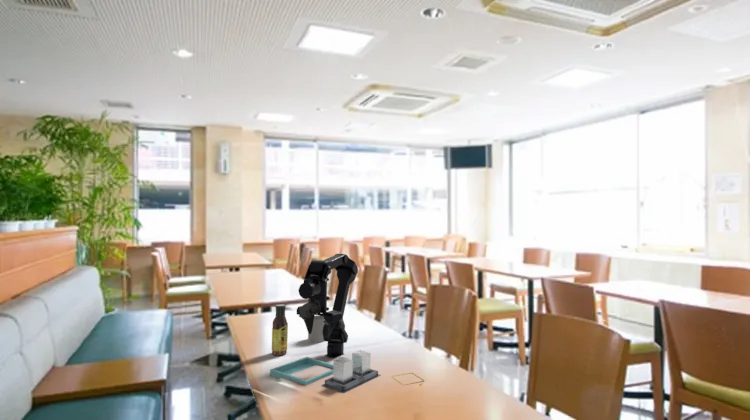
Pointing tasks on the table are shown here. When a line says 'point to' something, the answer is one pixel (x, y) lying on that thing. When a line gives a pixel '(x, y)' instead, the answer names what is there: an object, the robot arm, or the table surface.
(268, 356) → the table surface
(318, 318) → the cup
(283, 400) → the table surface
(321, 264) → the robot arm
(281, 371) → the teal tray
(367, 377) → the dark grey tray
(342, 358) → the billet
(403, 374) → the yellow square frame
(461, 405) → the table surface
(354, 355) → the block
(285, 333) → the sauce bottle
